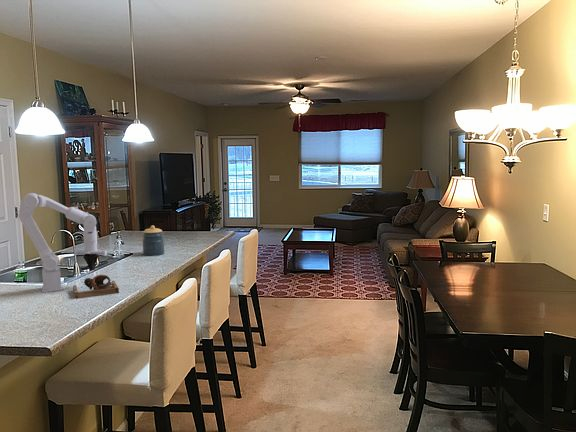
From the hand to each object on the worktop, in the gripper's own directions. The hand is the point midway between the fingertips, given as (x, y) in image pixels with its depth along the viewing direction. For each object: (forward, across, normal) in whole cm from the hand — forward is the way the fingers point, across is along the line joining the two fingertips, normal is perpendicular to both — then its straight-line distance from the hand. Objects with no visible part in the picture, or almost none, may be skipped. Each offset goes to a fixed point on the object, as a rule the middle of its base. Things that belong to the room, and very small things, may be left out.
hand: (91, 270), depth 224 cm
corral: (+7, +7, -10) cm, 14 cm away
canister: (+7, -1, +73) cm, 74 cm away
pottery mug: (+7, +8, -9) cm, 14 cm away
